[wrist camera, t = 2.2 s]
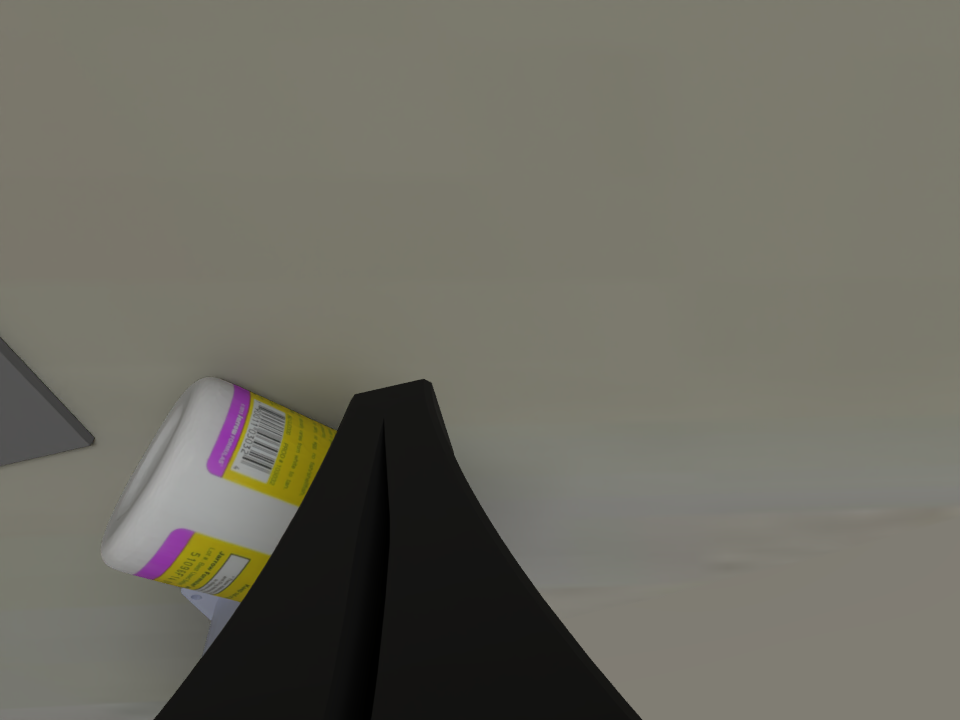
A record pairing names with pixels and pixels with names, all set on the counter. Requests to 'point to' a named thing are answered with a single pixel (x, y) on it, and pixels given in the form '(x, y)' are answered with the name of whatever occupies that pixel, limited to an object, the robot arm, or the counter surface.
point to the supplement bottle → (215, 490)
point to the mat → (32, 415)
